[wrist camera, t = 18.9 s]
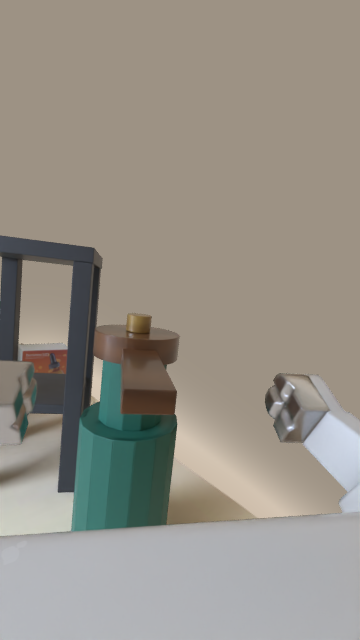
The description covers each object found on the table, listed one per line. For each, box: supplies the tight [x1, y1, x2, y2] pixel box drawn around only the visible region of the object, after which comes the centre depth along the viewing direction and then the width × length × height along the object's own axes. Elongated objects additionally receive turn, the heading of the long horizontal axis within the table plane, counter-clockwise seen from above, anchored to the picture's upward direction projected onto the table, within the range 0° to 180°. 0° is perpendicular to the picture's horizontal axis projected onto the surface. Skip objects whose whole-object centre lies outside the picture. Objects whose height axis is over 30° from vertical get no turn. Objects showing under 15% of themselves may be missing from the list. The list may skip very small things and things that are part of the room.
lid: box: [93, 313, 180, 415], centre depth 20 cm, size 15×7×3 cm, turn 12°
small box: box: [17, 343, 68, 374], centre depth 51 cm, size 8×6×10 cm
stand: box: [0, 236, 102, 492], centre depth 34 cm, size 12×12×26 cm
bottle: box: [71, 360, 177, 531], centre depth 24 cm, size 8×8×17 cm
